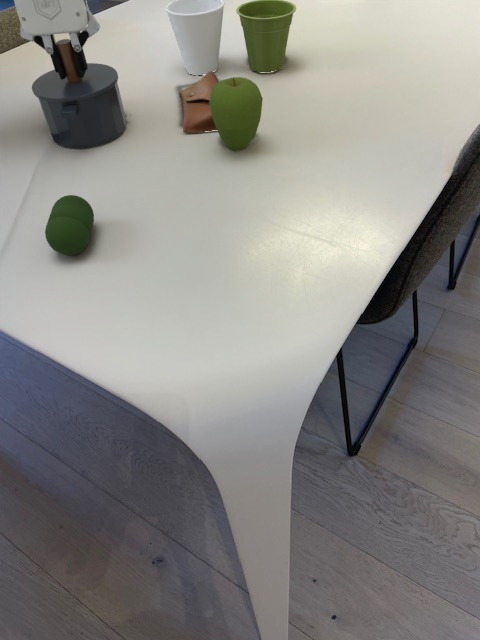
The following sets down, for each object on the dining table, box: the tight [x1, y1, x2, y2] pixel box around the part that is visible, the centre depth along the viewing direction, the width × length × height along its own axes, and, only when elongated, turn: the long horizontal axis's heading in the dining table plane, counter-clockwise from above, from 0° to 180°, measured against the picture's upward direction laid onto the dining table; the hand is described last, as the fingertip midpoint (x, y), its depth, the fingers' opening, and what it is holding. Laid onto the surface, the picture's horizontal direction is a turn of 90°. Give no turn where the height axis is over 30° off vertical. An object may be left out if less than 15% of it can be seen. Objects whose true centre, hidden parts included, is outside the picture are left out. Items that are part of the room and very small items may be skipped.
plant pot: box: [235, 0, 297, 73], centre depth 102 cm, size 12×12×11 cm
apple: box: [209, 76, 264, 152], centre depth 79 cm, size 9×8×12 cm
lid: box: [31, 38, 119, 102], centre depth 83 cm, size 15×15×7 cm
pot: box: [37, 82, 128, 150], centre depth 88 cm, size 14×19×8 cm
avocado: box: [44, 194, 95, 256], centre depth 67 cm, size 10×6×6 cm, turn 3°
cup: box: [164, 0, 225, 76], centre depth 103 cm, size 12×12×12 cm
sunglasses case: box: [179, 71, 220, 134], centre depth 92 cm, size 18×7×7 cm
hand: (73, 74), depth 84 cm, fingers closed on lid, 2 cm apart
